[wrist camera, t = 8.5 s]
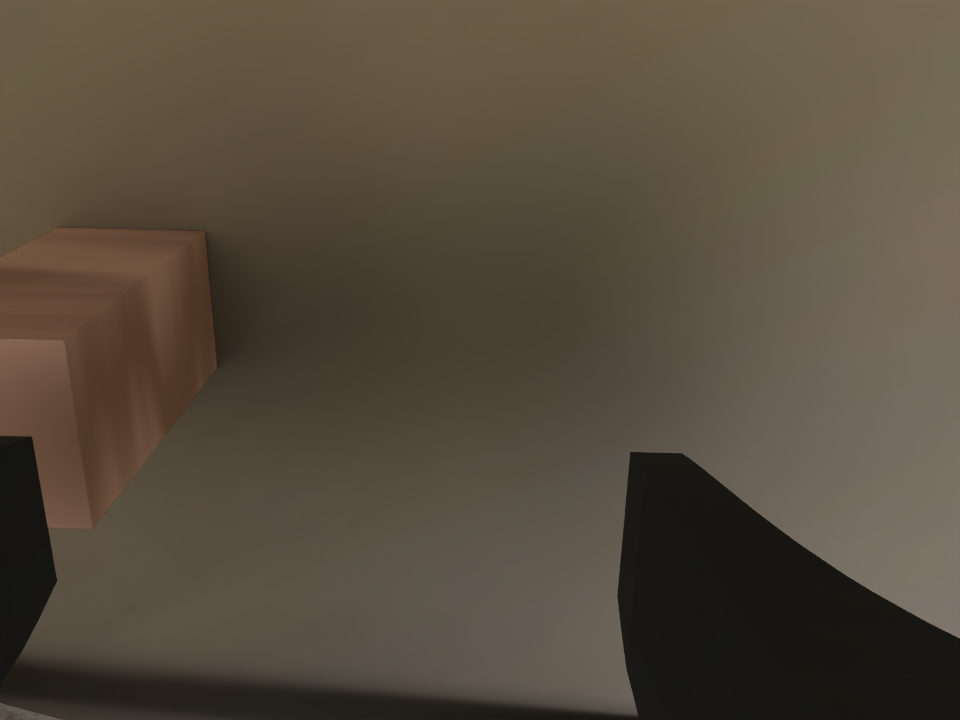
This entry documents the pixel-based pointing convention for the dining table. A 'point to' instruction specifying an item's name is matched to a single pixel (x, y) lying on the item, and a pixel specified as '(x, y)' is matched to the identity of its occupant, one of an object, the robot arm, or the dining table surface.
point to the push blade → (101, 355)
